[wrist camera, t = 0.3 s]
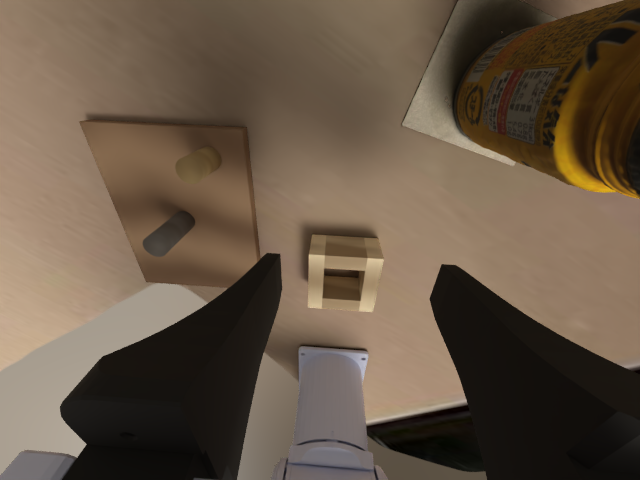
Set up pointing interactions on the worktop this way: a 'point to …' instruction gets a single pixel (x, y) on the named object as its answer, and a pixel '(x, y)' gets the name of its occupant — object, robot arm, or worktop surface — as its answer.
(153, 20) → the worktop surface
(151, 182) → the post board
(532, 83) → the condiment
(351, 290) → the ring
